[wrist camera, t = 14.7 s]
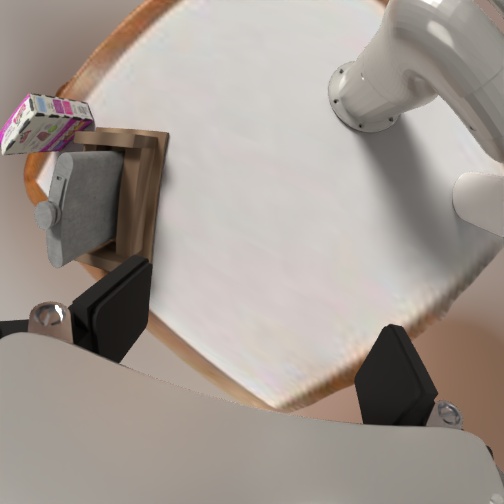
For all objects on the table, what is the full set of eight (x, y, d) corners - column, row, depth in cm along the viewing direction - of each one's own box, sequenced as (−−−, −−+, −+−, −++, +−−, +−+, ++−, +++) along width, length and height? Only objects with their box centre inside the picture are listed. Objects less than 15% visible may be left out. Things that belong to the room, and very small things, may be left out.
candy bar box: (87, 101, 42) (29, 90, 27) (94, 120, 44) (35, 114, 28) (53, 133, 45) (-4, 134, 29) (59, 152, 46) (1, 157, 30)
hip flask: (121, 237, 49) (51, 278, 30) (104, 230, 49) (32, 267, 30) (139, 153, 44) (62, 155, 25) (121, 148, 44) (41, 150, 25)
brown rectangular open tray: (89, 246, 52) (62, 261, 43) (99, 127, 44) (69, 125, 35) (151, 263, 51) (129, 283, 43) (168, 132, 44) (145, 128, 35)
